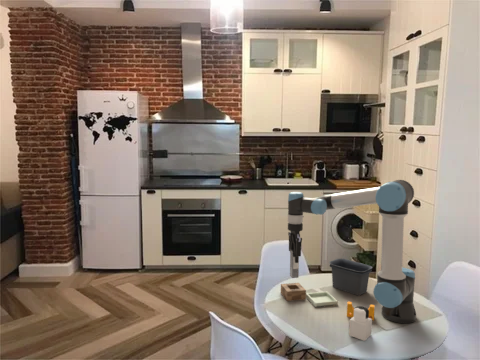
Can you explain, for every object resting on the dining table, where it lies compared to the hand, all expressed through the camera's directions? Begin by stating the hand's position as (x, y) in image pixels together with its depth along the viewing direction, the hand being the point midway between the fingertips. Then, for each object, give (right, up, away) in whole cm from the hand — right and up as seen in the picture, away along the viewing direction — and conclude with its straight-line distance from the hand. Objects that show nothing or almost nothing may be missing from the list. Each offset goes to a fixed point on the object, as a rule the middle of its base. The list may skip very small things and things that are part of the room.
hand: (294, 267), depth 203 cm
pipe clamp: (+28, -19, -19) cm, 39 cm away
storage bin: (+32, -15, +13) cm, 38 cm away
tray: (+13, -17, -3) cm, 21 cm away
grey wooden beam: (0, -5, +1) cm, 5 cm away
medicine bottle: (+23, -21, -36) cm, 48 cm away
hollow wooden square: (0, -16, +2) cm, 16 cm away
